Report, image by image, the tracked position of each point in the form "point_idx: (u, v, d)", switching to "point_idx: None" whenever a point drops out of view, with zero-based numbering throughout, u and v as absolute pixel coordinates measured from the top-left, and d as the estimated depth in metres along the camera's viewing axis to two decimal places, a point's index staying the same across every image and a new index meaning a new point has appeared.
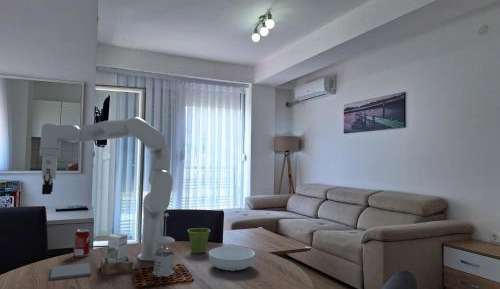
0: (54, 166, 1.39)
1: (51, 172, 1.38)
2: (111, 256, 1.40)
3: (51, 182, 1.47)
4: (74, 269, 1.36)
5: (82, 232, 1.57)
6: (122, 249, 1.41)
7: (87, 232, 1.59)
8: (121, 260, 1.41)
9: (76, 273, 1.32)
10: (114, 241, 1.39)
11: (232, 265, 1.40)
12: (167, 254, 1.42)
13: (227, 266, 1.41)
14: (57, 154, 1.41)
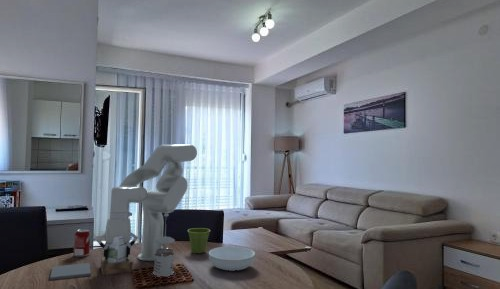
0: None
1: None
2: (111, 256, 1.40)
3: None
4: (74, 269, 1.36)
5: (82, 232, 1.57)
6: (122, 249, 1.41)
7: (87, 232, 1.59)
8: (121, 260, 1.41)
9: (76, 273, 1.32)
10: (114, 241, 1.39)
11: (232, 265, 1.40)
12: (167, 254, 1.42)
13: (227, 266, 1.41)
14: None
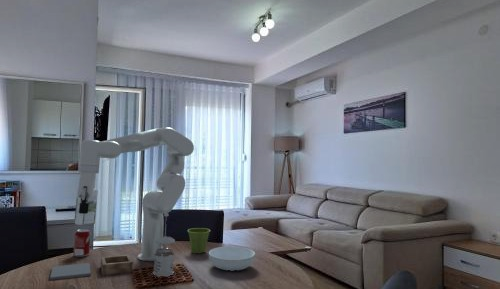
0: None
1: None
2: (89, 210, 1.37)
3: None
4: (74, 269, 1.36)
5: (82, 232, 1.57)
6: None
7: (87, 232, 1.59)
8: None
9: (76, 273, 1.32)
10: (93, 194, 1.38)
11: (232, 265, 1.40)
12: (167, 254, 1.42)
13: (227, 266, 1.41)
14: None
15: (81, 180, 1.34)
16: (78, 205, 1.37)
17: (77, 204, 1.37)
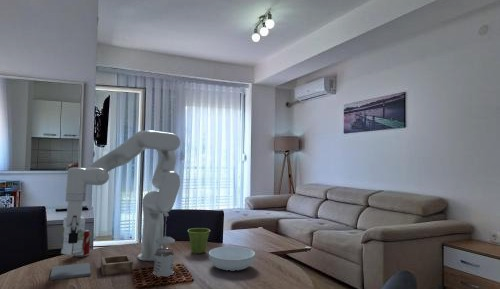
0: None
1: None
2: (77, 239, 1.35)
3: None
4: (74, 269, 1.36)
5: None
6: None
7: (87, 232, 1.59)
8: None
9: (76, 273, 1.32)
10: (81, 222, 1.37)
11: (232, 265, 1.40)
12: (167, 254, 1.42)
13: (227, 266, 1.41)
14: None
15: (70, 210, 1.32)
16: (65, 234, 1.34)
17: (64, 233, 1.35)
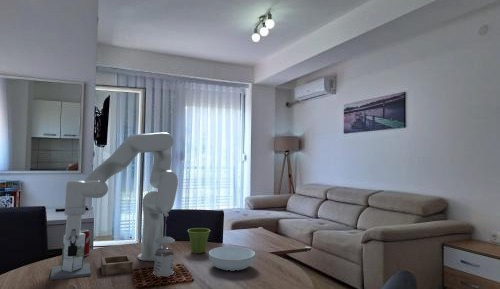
0: None
1: None
2: (77, 255, 1.35)
3: (69, 245, 1.31)
4: None
5: (82, 232, 1.57)
6: None
7: (87, 232, 1.59)
8: None
9: (76, 273, 1.32)
10: (81, 239, 1.37)
11: (232, 265, 1.40)
12: (167, 254, 1.42)
13: (227, 266, 1.41)
14: None
15: (69, 223, 1.32)
16: (65, 251, 1.34)
17: (64, 250, 1.35)
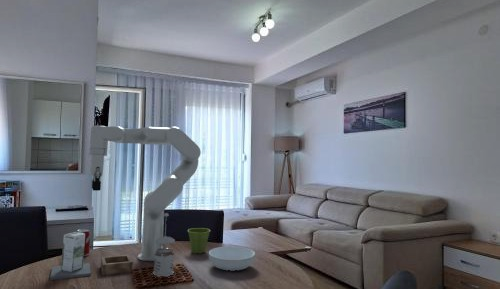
0: None
1: None
2: (77, 255, 1.35)
3: None
4: None
5: (82, 232, 1.57)
6: None
7: (87, 232, 1.59)
8: None
9: (76, 273, 1.32)
10: (81, 239, 1.37)
11: (232, 265, 1.40)
12: (167, 254, 1.42)
13: (227, 266, 1.41)
14: None
15: (94, 161, 1.49)
16: (65, 251, 1.34)
17: (64, 250, 1.35)
